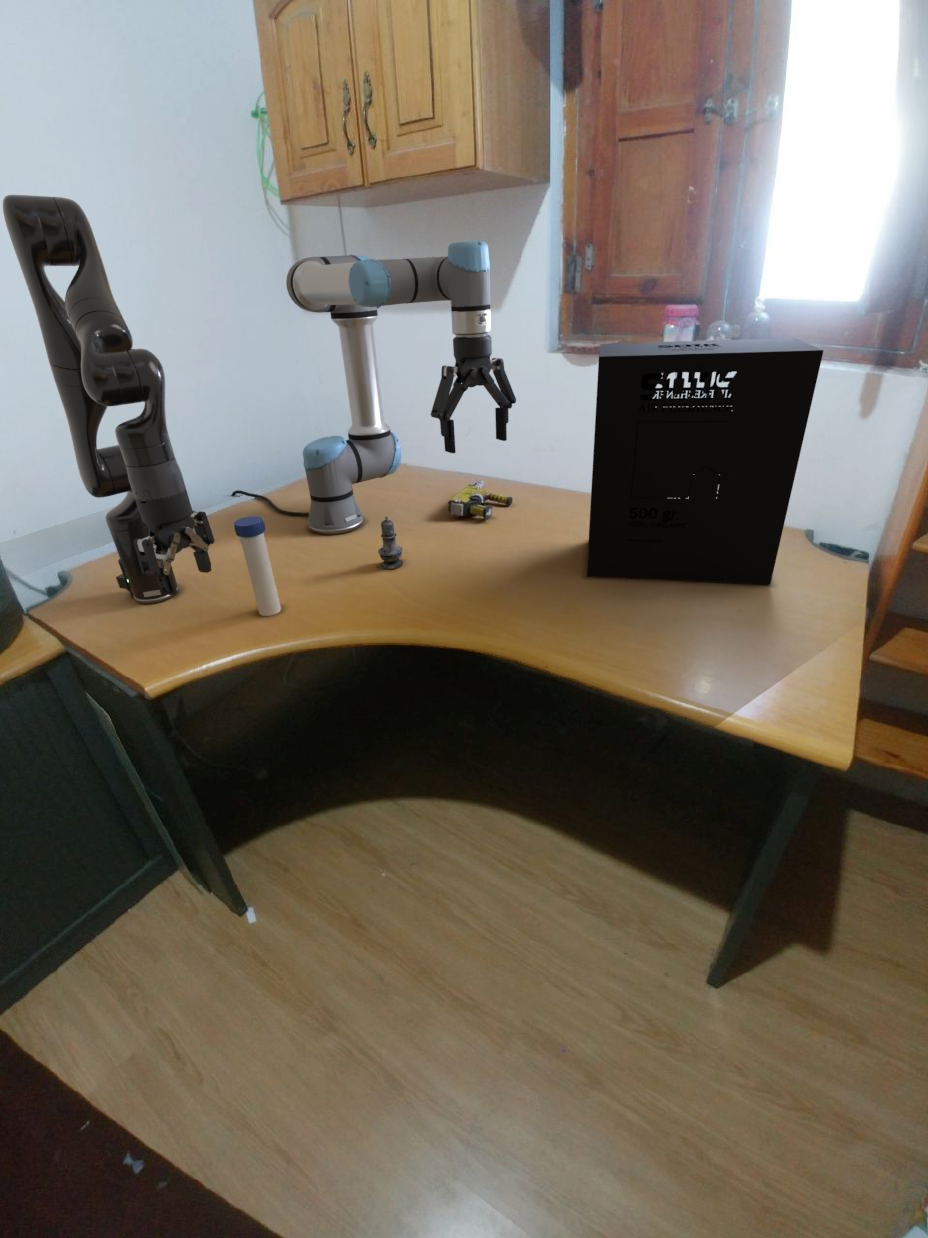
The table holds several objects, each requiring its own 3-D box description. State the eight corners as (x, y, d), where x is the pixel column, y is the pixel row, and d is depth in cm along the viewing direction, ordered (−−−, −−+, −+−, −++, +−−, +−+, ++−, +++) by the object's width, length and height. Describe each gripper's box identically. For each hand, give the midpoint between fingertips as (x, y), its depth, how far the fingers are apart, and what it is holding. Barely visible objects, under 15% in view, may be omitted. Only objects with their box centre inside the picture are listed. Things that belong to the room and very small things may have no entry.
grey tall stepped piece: (400, 569, 141) (394, 521, 135) (376, 568, 143) (369, 520, 137) (407, 559, 146) (402, 512, 140) (384, 558, 147) (378, 511, 141)
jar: (285, 609, 128) (265, 521, 118) (267, 618, 125) (245, 529, 115) (272, 603, 130) (252, 517, 120) (254, 612, 127) (232, 524, 117)
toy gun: (520, 484, 182) (474, 477, 186) (498, 508, 162) (446, 499, 166) (519, 500, 184) (473, 492, 188) (497, 524, 164) (445, 516, 168)
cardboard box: (751, 546, 143) (793, 337, 120) (770, 584, 126) (823, 350, 103) (589, 540, 150) (600, 343, 128) (586, 576, 133) (598, 356, 111)
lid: (271, 530, 119) (268, 519, 118) (246, 539, 115) (243, 528, 114) (255, 525, 122) (252, 514, 121) (230, 533, 118) (227, 522, 117)
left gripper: (172, 475, 101) (199, 563, 109) (104, 503, 89) (139, 599, 98) (209, 477, 99) (233, 567, 107) (144, 506, 87) (177, 604, 95)
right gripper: (429, 342, 108) (437, 460, 118) (533, 329, 120) (532, 437, 131) (407, 340, 113) (417, 454, 124) (508, 328, 125) (510, 432, 136)
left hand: (188, 582), depth 102 cm, fingers open, 8 cm apart
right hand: (476, 445), depth 127 cm, fingers open, 13 cm apart
